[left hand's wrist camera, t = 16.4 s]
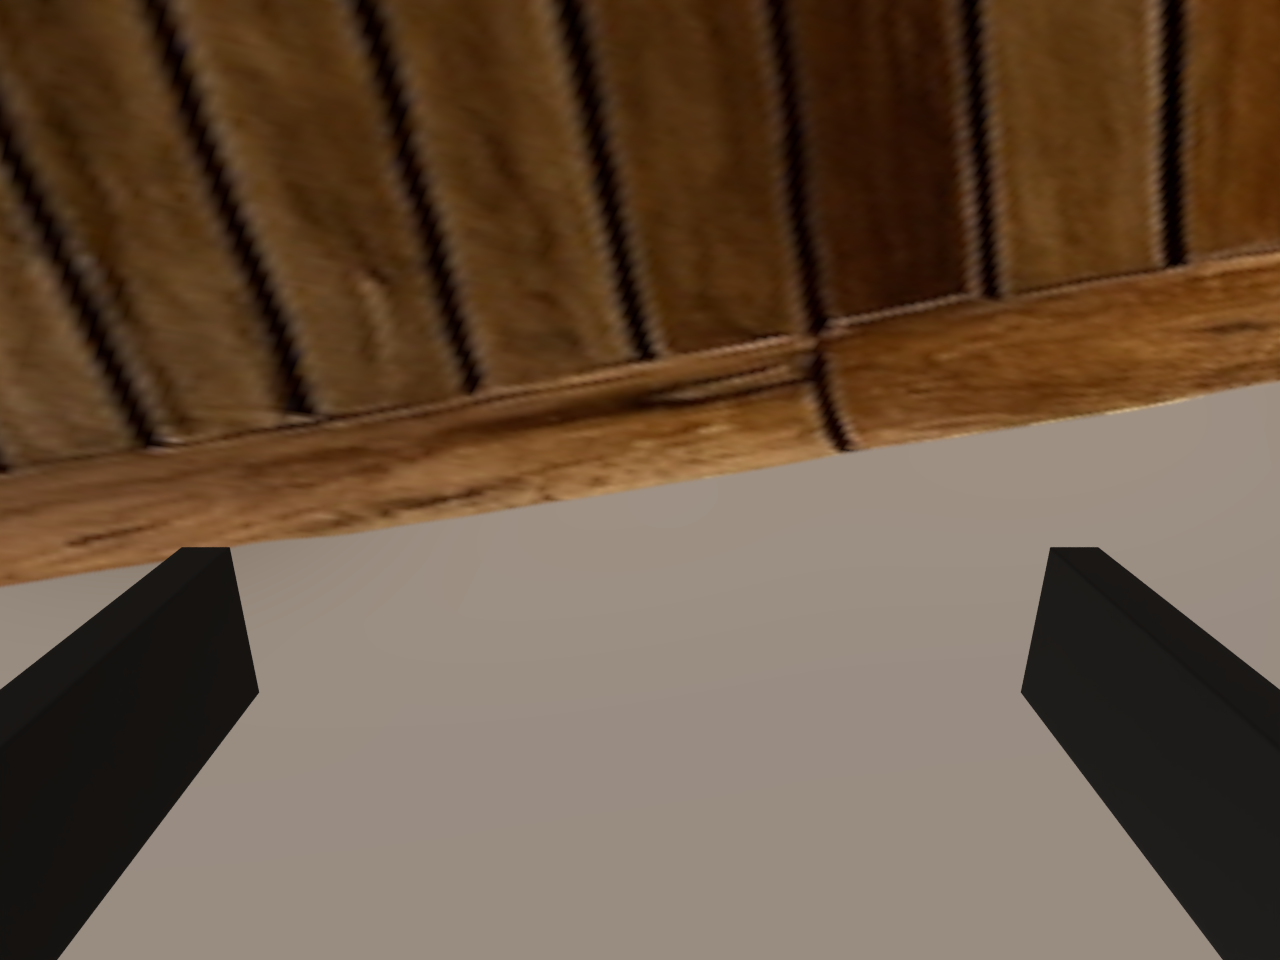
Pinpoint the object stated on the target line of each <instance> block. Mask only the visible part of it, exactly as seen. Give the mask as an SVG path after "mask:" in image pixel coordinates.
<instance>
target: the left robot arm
mask: <svg viewBox="0 0 1280 960" xmlns="http://www.w3.org/2000/svg"><path fill="white" fill-rule="evenodd" d="M258 693H259V689H258V684H257V680H256V675H255V670H254V665H253V660H252V655H251V650H250V645H249V640H248V635H247V630H246V625H245V620H244V615H243V611H242V606H241V601H240V596H239V591H238V586H237V581H236V576H235V571H234V566H233V561H232V556H231V552H230V547H182V548H180V549H179V550H178V551H176V552H175V553H174V554H173V555H171V556H170V557H169V558H168V559H166V560H165V561H164V562H162V563H161V564H160V565H159V566H157V567H156V568H155V569H154V570H152V571H151V572H150V573H148V574H147V575H146V576H145V577H143V578H142V579H141V580H139V581H138V582H137V583H136V584H134V585H133V586H132V587H131V588H129V589H128V590H127V591H125V592H124V593H123V594H122V595H120V596H119V597H118V598H117V599H115V600H114V601H113V602H111V603H110V604H109V605H108V606H106V607H105V608H104V609H103V610H101V611H100V612H99V613H97V614H96V615H95V616H94V617H92V618H91V619H90V620H88V621H87V622H86V623H85V624H83V625H82V626H81V627H80V628H78V629H77V630H76V631H74V632H73V633H72V634H71V635H69V636H68V637H67V638H66V639H64V640H63V641H62V642H60V643H59V644H58V645H57V646H55V647H54V648H53V649H52V650H50V651H49V652H48V653H46V654H45V655H44V656H43V657H41V658H40V659H39V660H38V661H36V662H35V663H34V664H32V665H31V666H30V667H29V668H27V669H26V670H25V671H23V672H22V673H21V674H20V675H18V676H17V677H16V678H14V679H13V680H12V681H11V682H9V683H8V684H7V685H6V686H4V687H3V688H2V689H0V960H57V959H58V958H59V957H60V955H61V954H62V953H63V951H64V950H65V949H66V947H67V946H68V945H69V943H70V942H71V941H72V939H73V938H74V937H75V935H76V934H77V933H78V931H79V930H80V929H81V928H82V926H83V925H84V924H85V922H86V921H87V920H88V918H89V917H90V916H91V914H92V913H93V912H94V910H95V909H96V908H97V906H98V905H99V904H100V902H101V901H102V900H103V898H104V897H105V896H106V894H107V893H108V892H109V890H110V889H111V888H112V886H113V885H114V884H115V882H116V881H117V880H118V879H119V877H120V876H121V875H122V873H123V872H124V871H125V869H126V868H127V867H128V865H129V864H130V863H131V861H132V860H133V859H134V857H135V856H136V855H137V853H138V852H139V851H140V849H141V848H142V847H143V845H144V844H145V843H146V841H147V840H148V839H149V837H150V836H151V835H152V834H153V832H154V831H155V830H156V828H157V827H158V826H159V824H160V823H161V822H162V820H163V819H164V818H165V816H166V815H167V814H168V812H169V811H170V810H171V808H172V807H173V806H174V804H175V803H176V802H177V800H178V799H179V798H180V796H181V795H182V794H183V792H184V791H185V790H186V789H187V787H188V786H189V785H190V783H191V782H192V780H193V779H194V778H195V777H196V775H197V774H198V773H199V771H200V770H201V769H202V767H203V766H204V765H205V763H206V762H207V761H208V759H209V758H210V757H211V755H212V754H213V753H214V751H215V750H216V749H217V747H218V746H219V745H220V744H221V742H222V741H223V740H224V738H225V737H226V736H227V734H228V733H229V732H230V730H231V729H232V728H233V726H234V725H235V724H236V722H237V721H238V720H239V718H240V717H241V716H242V714H243V713H244V712H245V710H246V709H247V708H248V706H249V705H250V704H251V702H252V701H253V700H254V699H255V697H256V696H257V695H258ZM1021 693H1022V694H1023V696H1024V697H1025V698H1026V700H1027V701H1028V702H1029V704H1030V705H1031V706H1032V708H1033V709H1034V710H1035V712H1036V713H1037V714H1038V716H1039V717H1040V718H1041V720H1042V721H1043V722H1044V724H1045V725H1046V726H1047V728H1048V729H1049V730H1050V732H1051V733H1052V734H1053V736H1054V737H1055V738H1056V739H1057V741H1058V742H1059V743H1060V745H1061V746H1062V747H1063V749H1064V750H1065V751H1066V753H1067V754H1068V755H1069V757H1070V758H1071V759H1072V761H1073V762H1074V763H1075V765H1076V766H1077V767H1078V769H1079V770H1080V771H1081V773H1082V774H1083V775H1084V777H1085V778H1086V779H1087V781H1088V782H1089V783H1090V785H1091V786H1092V787H1093V789H1094V790H1095V791H1096V792H1097V794H1098V795H1099V796H1100V798H1101V799H1102V800H1103V802H1104V803H1105V804H1106V806H1107V807H1108V808H1109V810H1110V811H1111V812H1112V814H1113V815H1114V816H1115V818H1116V819H1117V820H1118V822H1119V823H1120V824H1121V826H1122V827H1123V828H1124V830H1125V831H1126V832H1127V834H1128V835H1129V836H1130V838H1131V839H1132V840H1133V841H1134V843H1135V844H1136V845H1137V847H1138V848H1139V849H1140V851H1141V852H1142V853H1143V855H1144V856H1145V857H1146V859H1147V860H1148V861H1149V863H1150V864H1151V865H1152V867H1153V868H1154V869H1155V871H1156V872H1157V873H1158V875H1159V876H1160V877H1161V879H1162V880H1163V881H1164V883H1165V884H1166V885H1167V886H1168V888H1169V889H1170V890H1171V892H1172V893H1173V894H1174V896H1175V897H1176V898H1177V900H1178V901H1179V902H1180V904H1181V905H1182V906H1183V908H1184V909H1185V910H1186V912H1187V913H1188V914H1189V916H1190V917H1191V918H1192V920H1193V921H1194V922H1195V924H1196V925H1197V926H1198V927H1199V929H1200V930H1201V931H1202V933H1203V934H1204V935H1205V937H1206V938H1207V939H1208V941H1209V942H1210V943H1211V945H1212V946H1213V947H1214V949H1215V950H1216V951H1217V953H1218V954H1219V955H1220V957H1221V958H1222V959H1223V960H1280V689H1278V688H1277V687H1276V686H1274V685H1273V684H1272V683H1271V682H1269V681H1268V680H1267V679H1265V678H1264V677H1263V676H1262V675H1260V674H1259V673H1258V672H1257V671H1255V670H1254V669H1253V668H1251V667H1250V666H1249V665H1248V664H1246V663H1245V662H1244V661H1243V660H1241V659H1240V658H1239V657H1237V656H1236V655H1235V654H1234V653H1232V652H1231V651H1230V650H1228V649H1227V648H1226V647H1225V646H1223V645H1222V644H1221V643H1220V642H1218V641H1217V640H1216V639H1214V638H1213V637H1212V636H1211V635H1209V634H1208V633H1207V632H1206V631H1204V630H1203V629H1202V628H1200V627H1199V626H1198V625H1197V624H1195V623H1194V622H1193V621H1192V620H1190V619H1189V618H1188V617H1186V616H1185V615H1184V614H1183V613H1181V612H1180V611H1179V610H1177V609H1176V608H1175V607H1174V606H1172V605H1171V604H1170V603H1169V602H1167V601H1166V600H1165V599H1163V598H1162V597H1161V596H1160V595H1158V594H1157V593H1156V592H1155V591H1153V590H1152V589H1151V588H1149V587H1148V586H1147V585H1146V584H1144V583H1143V582H1142V581H1140V580H1139V579H1138V578H1137V577H1135V576H1134V575H1133V574H1132V573H1130V572H1129V571H1128V570H1126V569H1125V568H1124V567H1123V566H1121V565H1120V564H1119V563H1118V562H1116V561H1115V560H1114V559H1112V558H1111V557H1110V556H1109V555H1107V554H1106V553H1105V552H1103V551H1102V550H1101V549H1100V548H1098V547H1051V548H1050V551H1049V556H1048V561H1047V566H1046V571H1045V576H1044V581H1043V586H1042V591H1041V596H1040V601H1039V606H1038V611H1037V615H1036V620H1035V625H1034V630H1033V635H1032V640H1031V645H1030V650H1029V655H1028V660H1027V665H1026V670H1025V675H1024V680H1023V684H1022V689H1021Z"/></svg>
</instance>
